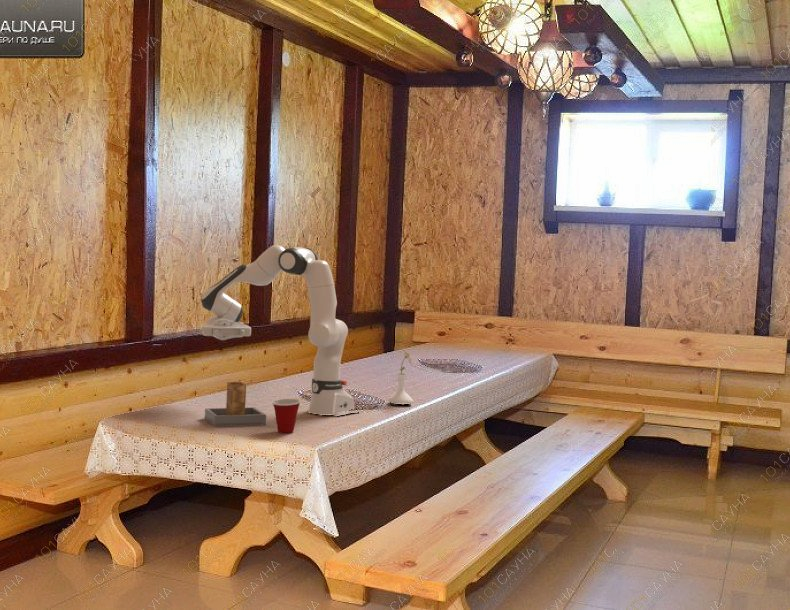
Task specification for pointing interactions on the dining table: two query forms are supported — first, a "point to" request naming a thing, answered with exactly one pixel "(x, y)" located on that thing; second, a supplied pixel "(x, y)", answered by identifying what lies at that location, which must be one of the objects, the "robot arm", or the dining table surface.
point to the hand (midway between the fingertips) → (231, 333)
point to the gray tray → (235, 417)
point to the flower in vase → (401, 385)
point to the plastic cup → (286, 414)
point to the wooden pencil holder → (236, 398)
